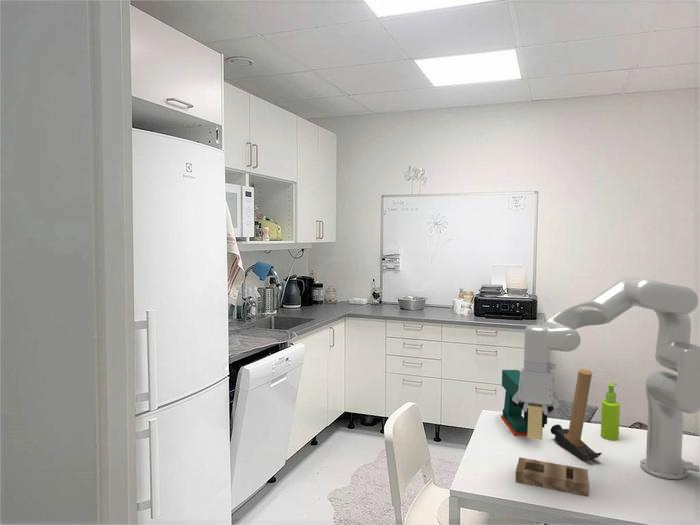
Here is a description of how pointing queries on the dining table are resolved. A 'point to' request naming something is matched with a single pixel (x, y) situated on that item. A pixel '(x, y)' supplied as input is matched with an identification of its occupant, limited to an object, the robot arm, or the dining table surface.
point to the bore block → (552, 476)
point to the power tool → (513, 404)
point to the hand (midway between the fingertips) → (535, 424)
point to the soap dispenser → (610, 415)
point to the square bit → (535, 421)
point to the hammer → (577, 421)
